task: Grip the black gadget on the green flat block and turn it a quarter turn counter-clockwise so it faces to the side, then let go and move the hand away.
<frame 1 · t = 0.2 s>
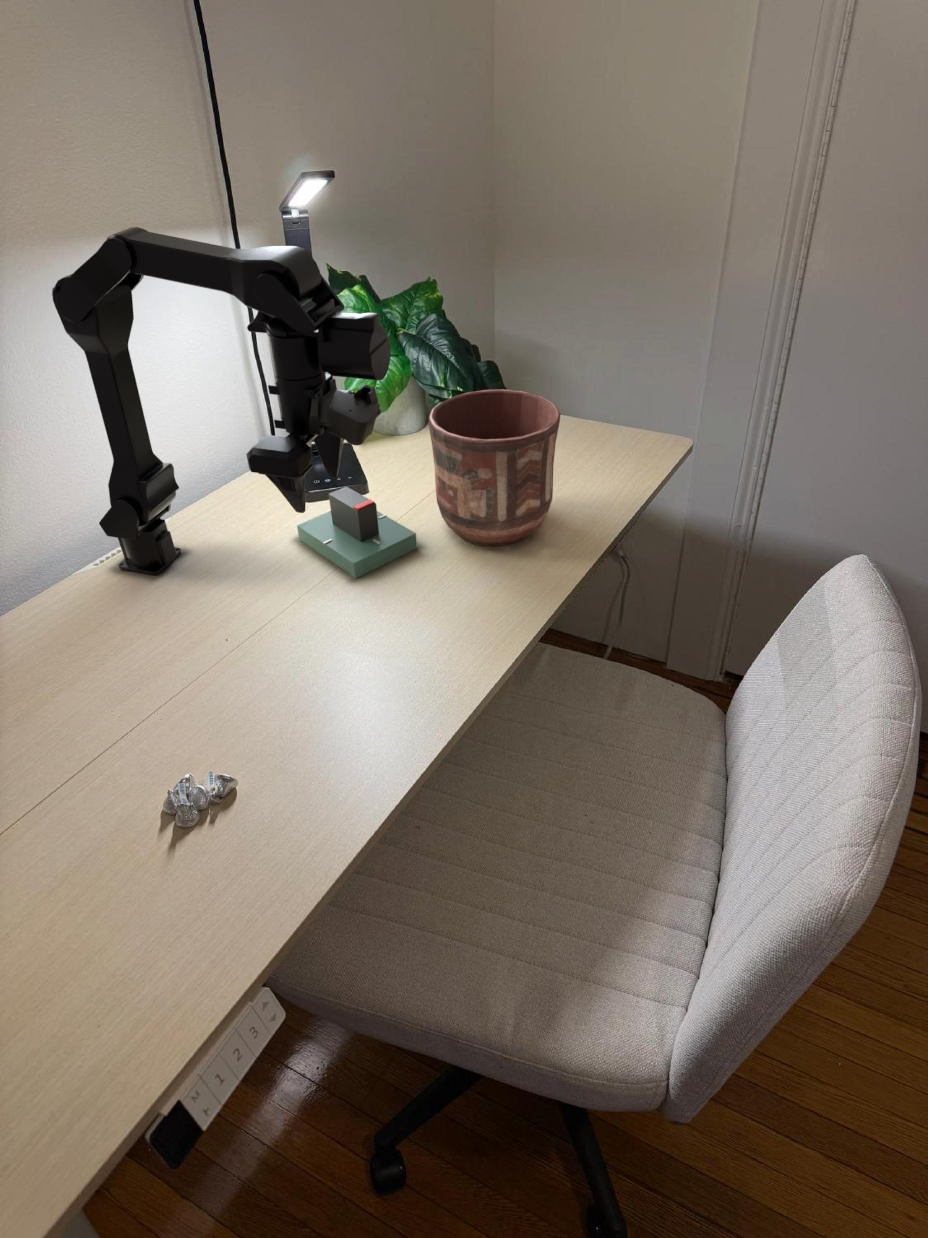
hand: (317, 494, 102), 15 cm above the table, tool pointing down, fingers open, 9 cm apart
gadget: (353, 513, 116), point 5 cm above the table, hinge at 0.0°
green flat block: (357, 543, 120), on the table
pottery: (494, 527, 123), on the table
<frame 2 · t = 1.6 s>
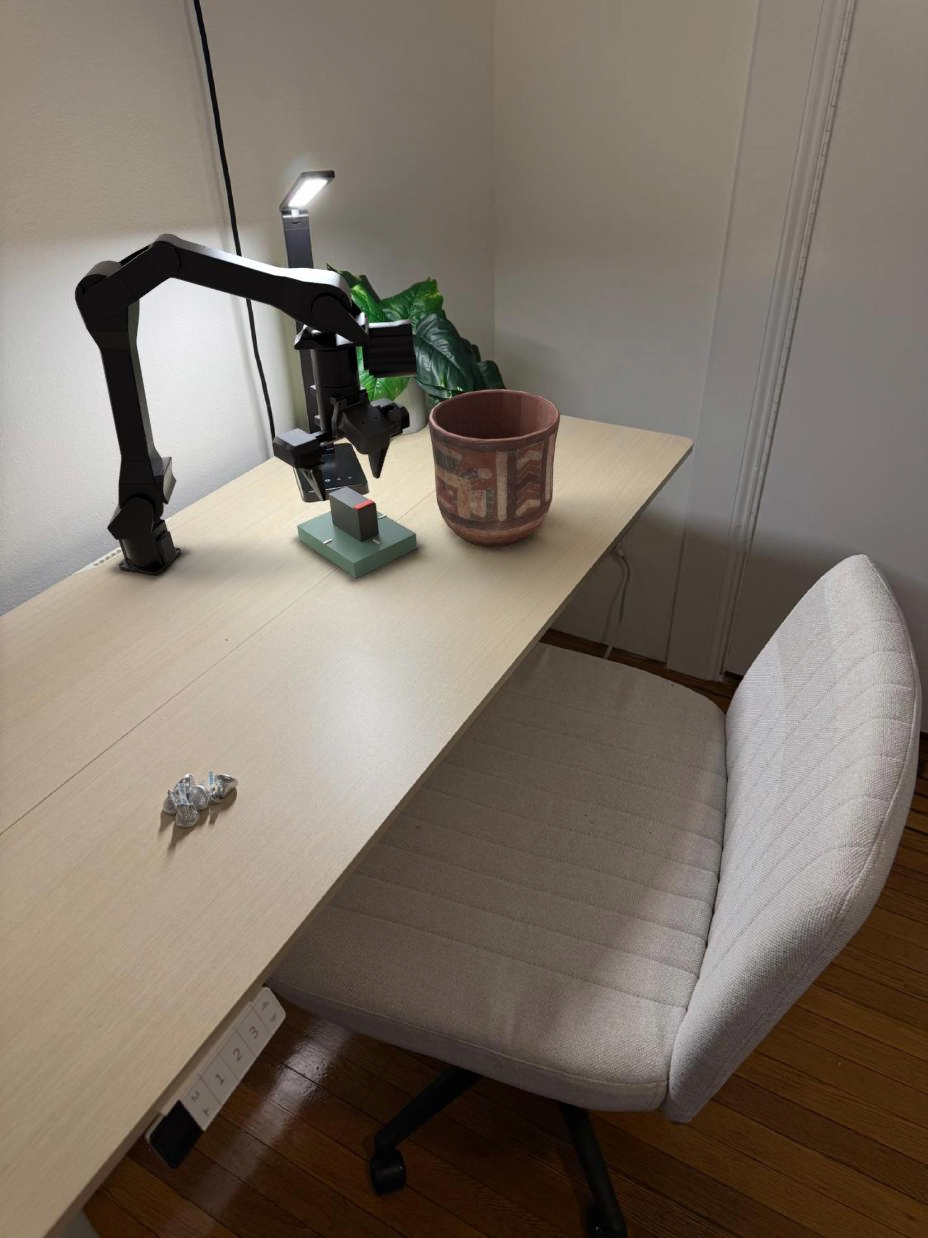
hand: (350, 488, 114), 9 cm above the table, tool pointing down, fingers open, 9 cm apart
nothing on the table moved.
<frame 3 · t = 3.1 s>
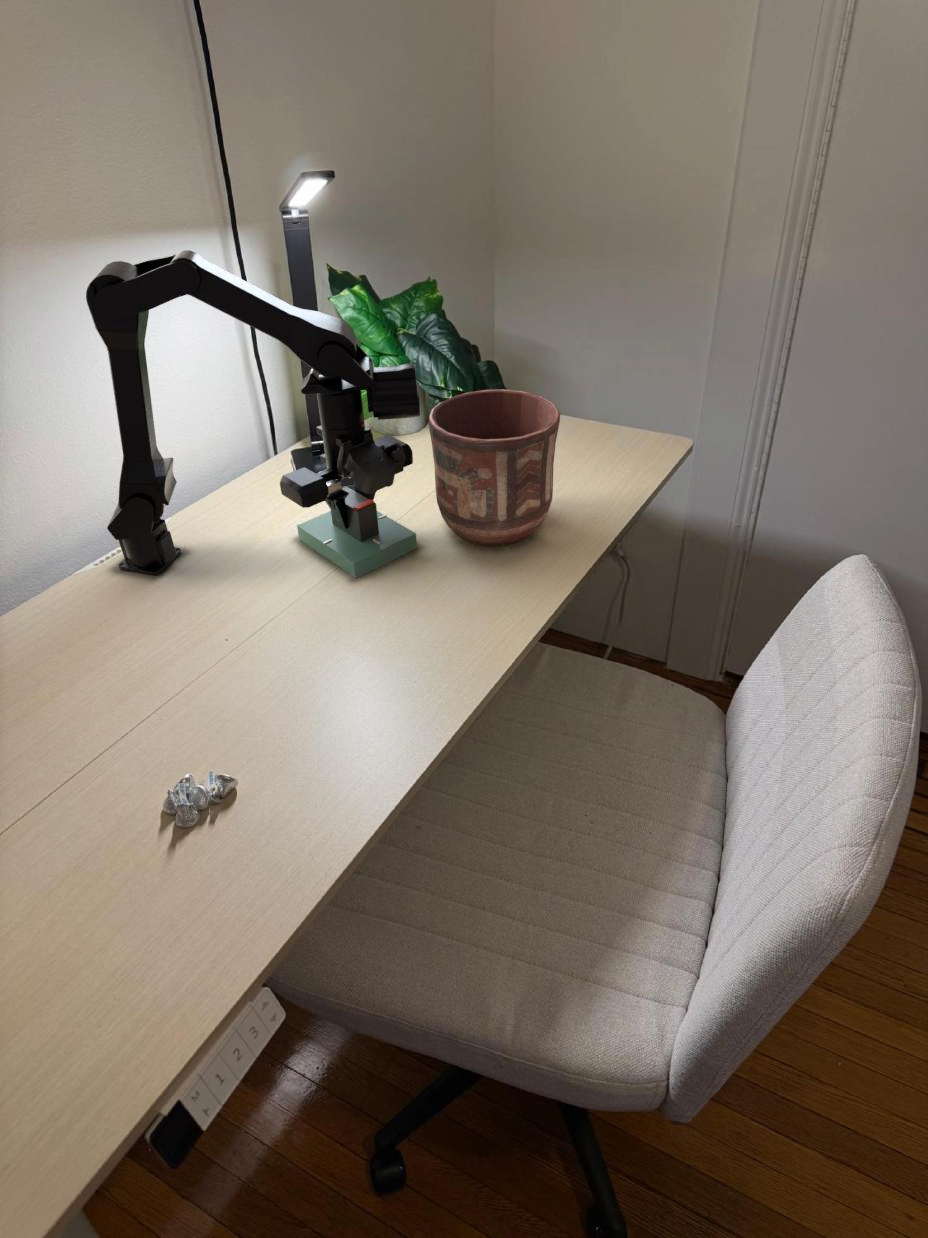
hand: (354, 523, 117), 4 cm above the table, tool pointing down, fingers closed on gadget, 3 cm apart
gadget: (353, 513, 116), point 5 cm above the table, hinge at 0.0°, touching gripper
everything else where it was.
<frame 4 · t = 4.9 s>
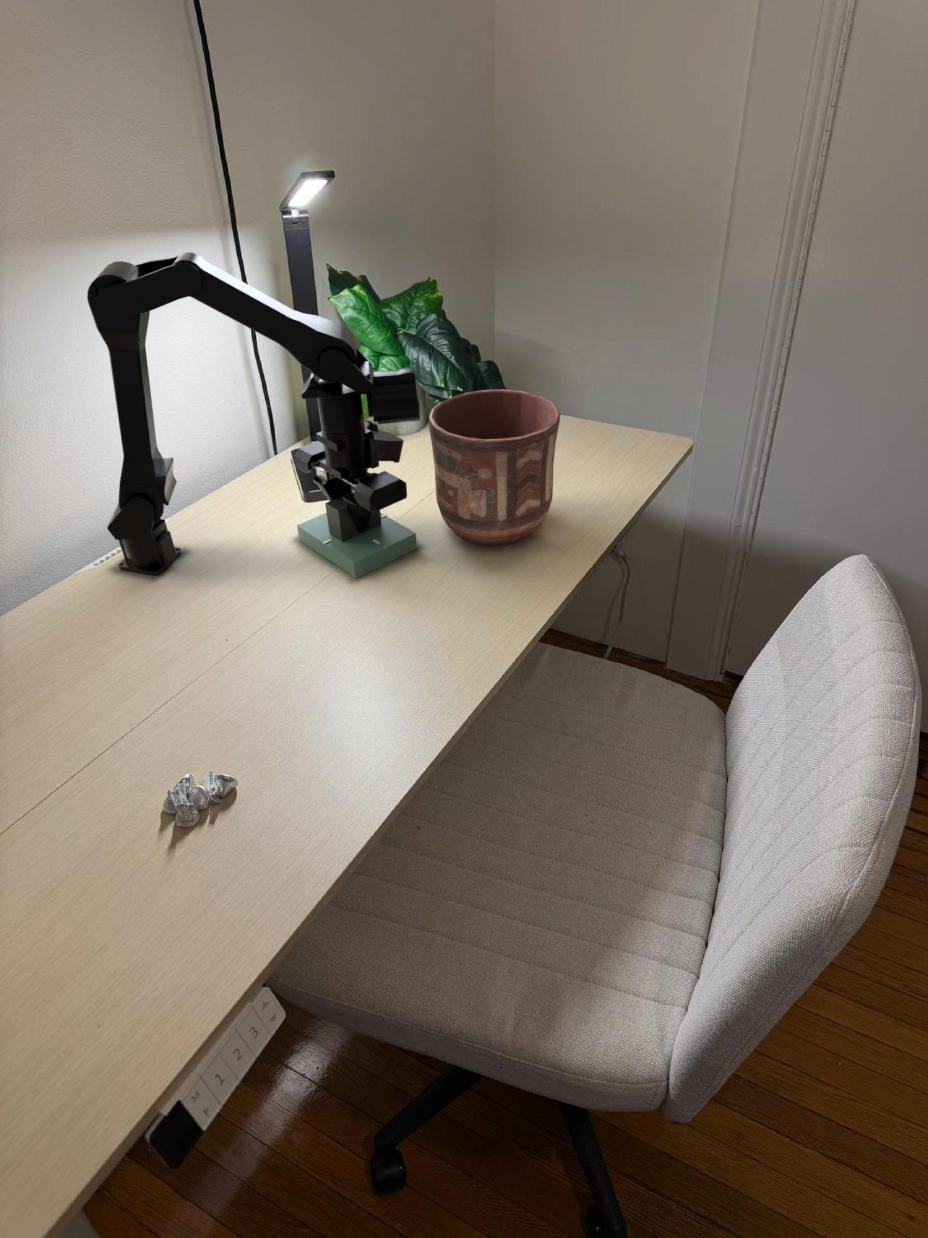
hand: (355, 526, 118), 3 cm above the table, tool pointing down, fingers closed on gadget, 3 cm apart
gadget: (353, 513, 116), point 5 cm above the table, hinge at 89.9°, touching gripper
everything else where it was.
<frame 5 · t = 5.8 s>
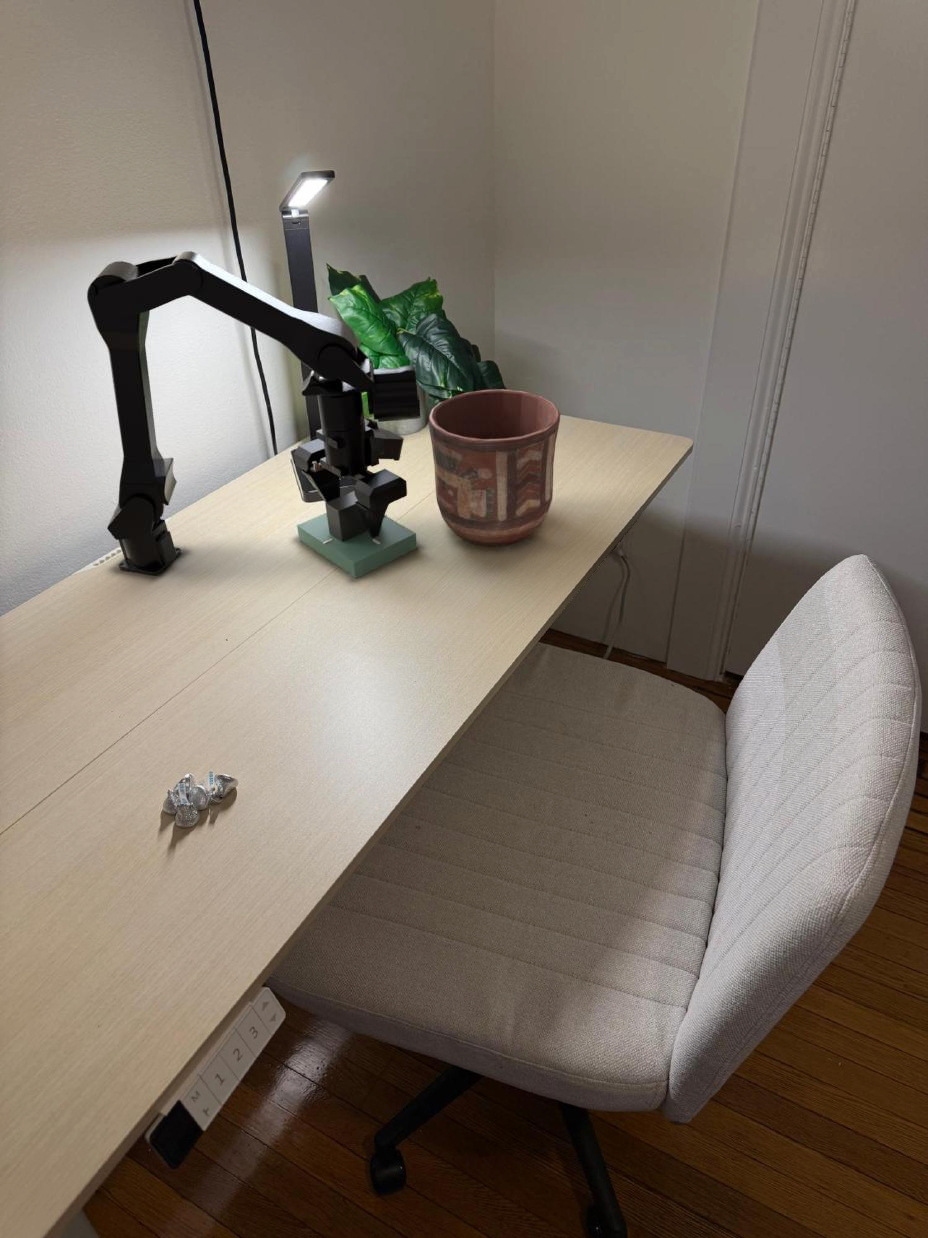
hand: (355, 524, 118), 3 cm above the table, tool pointing down, fingers open, 9 cm apart
gadget: (353, 513, 116), point 5 cm above the table, hinge at 89.9°
everything else where it was.
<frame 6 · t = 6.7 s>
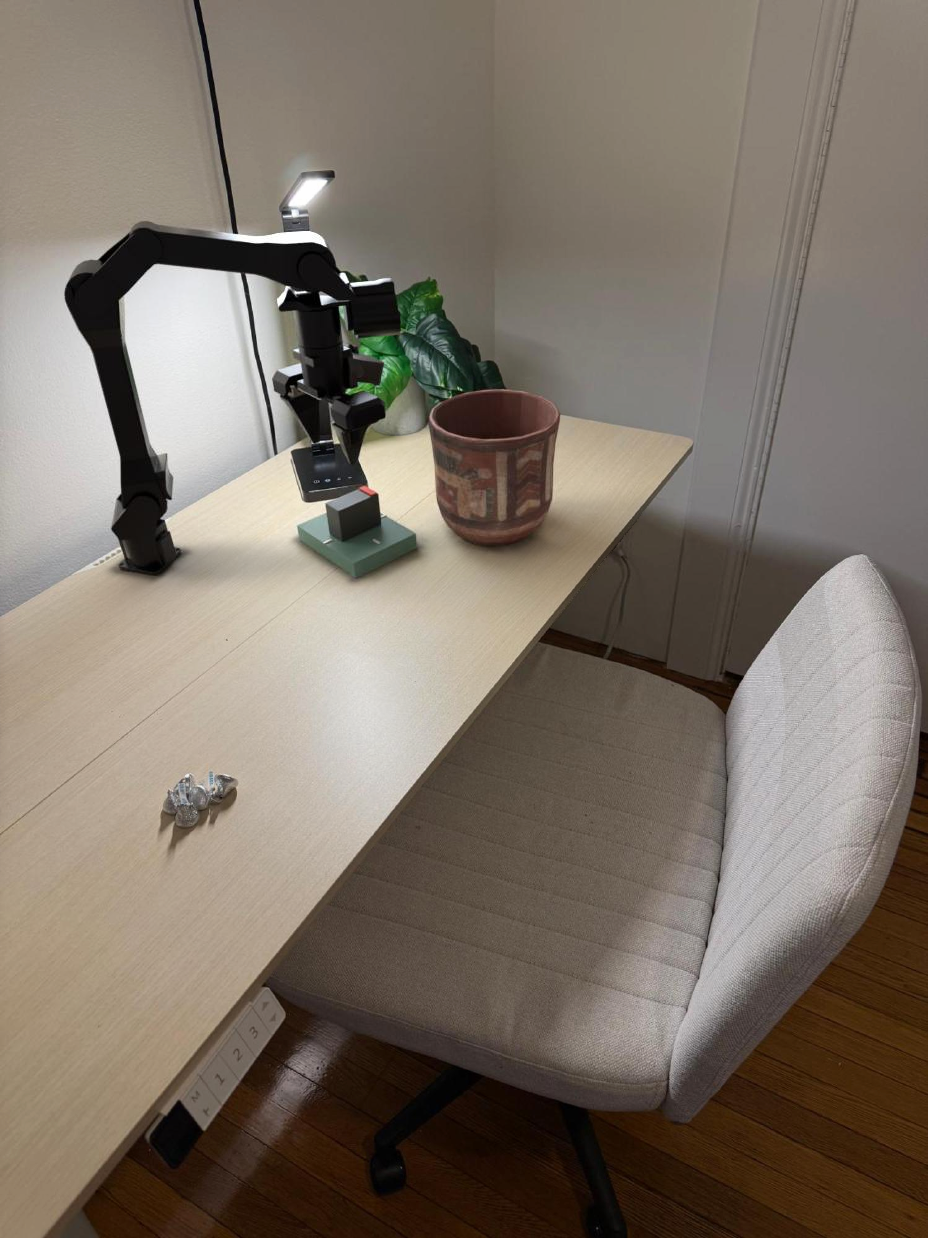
hand: (334, 452, 115), 13 cm above the table, tool pointing down, fingers open, 9 cm apart
nothing on the table moved.
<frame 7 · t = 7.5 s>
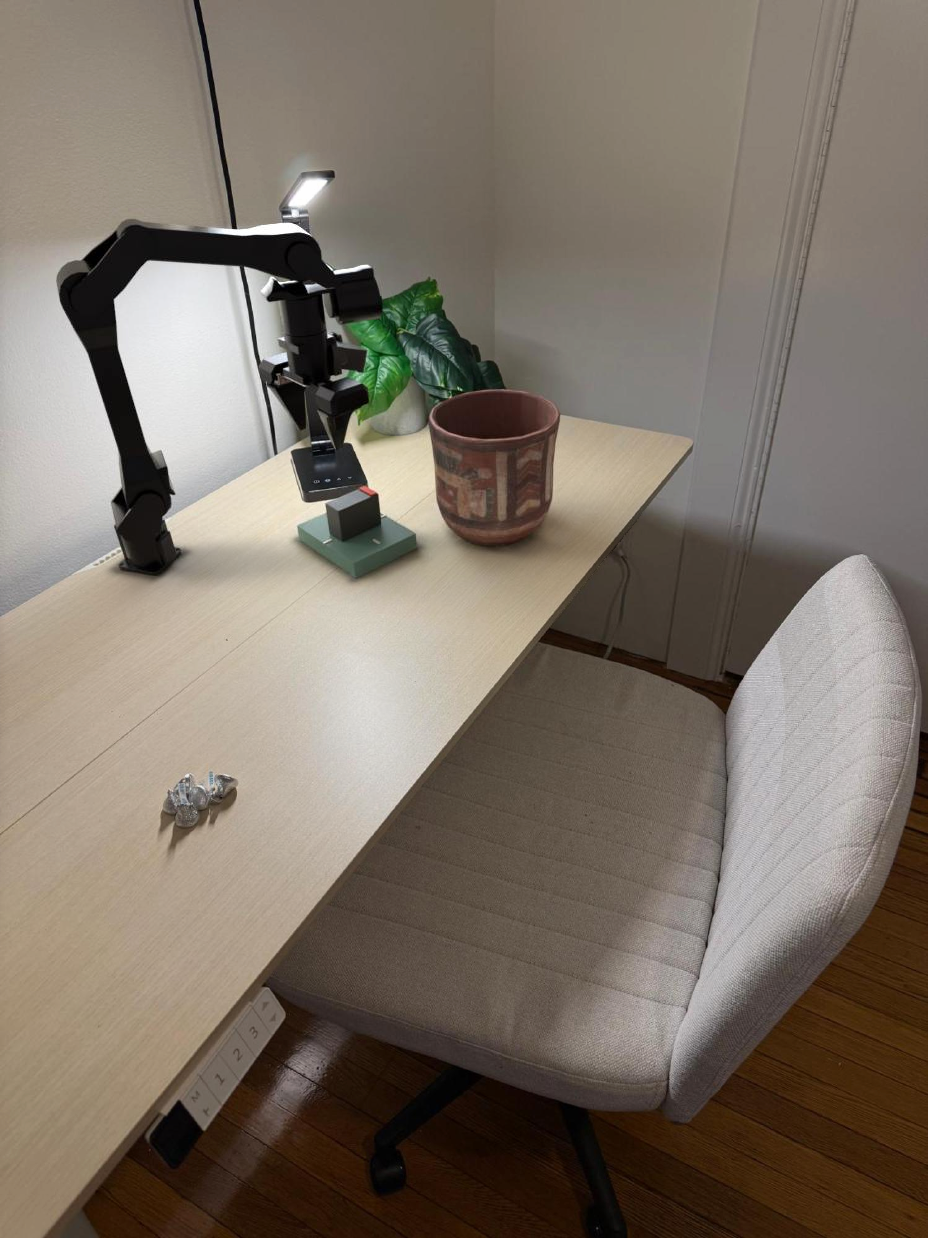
hand: (320, 438, 118), 13 cm above the table, tool pointing down, fingers open, 9 cm apart
nothing on the table moved.
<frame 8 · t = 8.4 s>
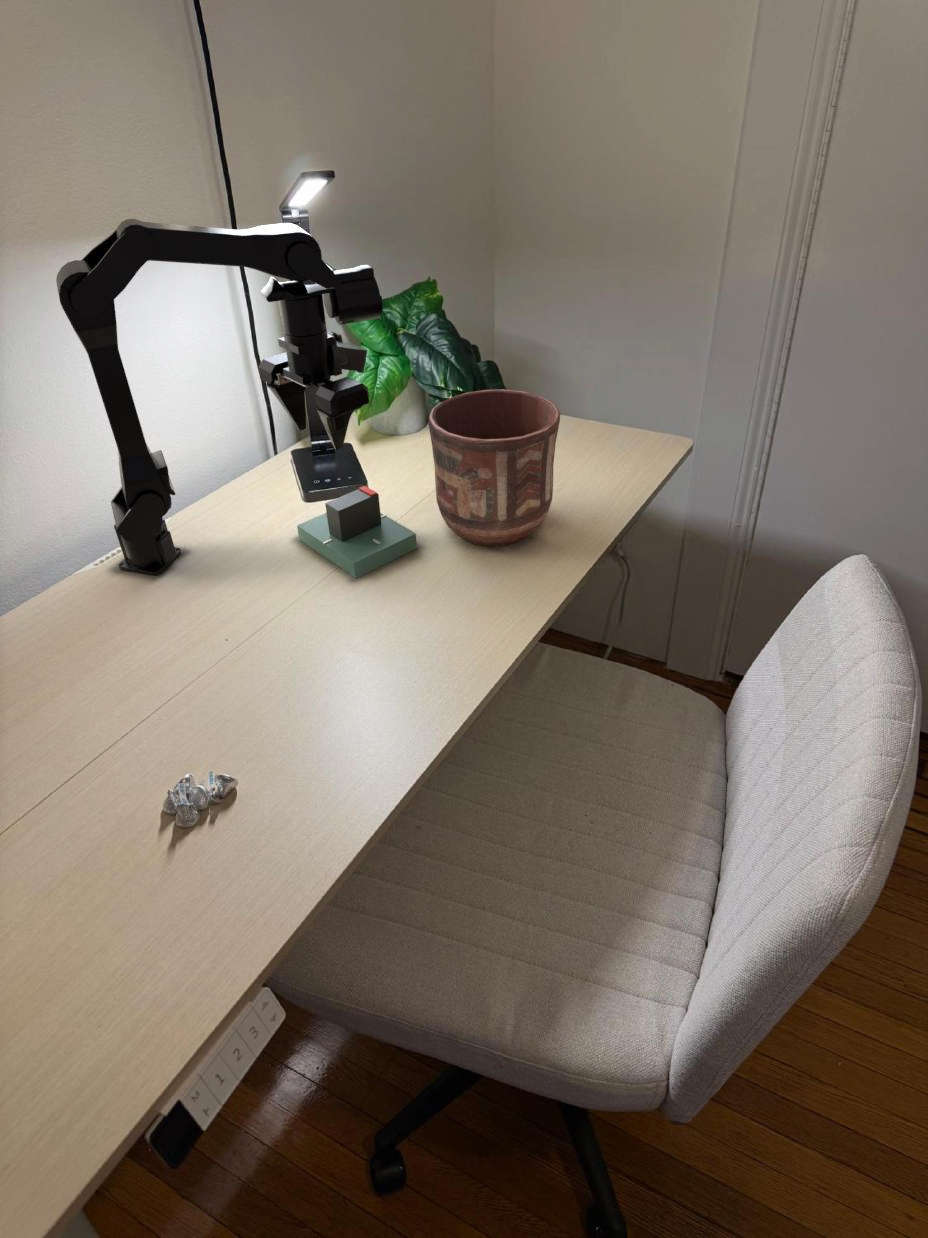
hand: (320, 438, 118), 13 cm above the table, tool pointing down, fingers open, 9 cm apart
nothing on the table moved.
at the end: gadget at +90° (first picture: +0°); pottery moved 0.2 cm from its start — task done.
